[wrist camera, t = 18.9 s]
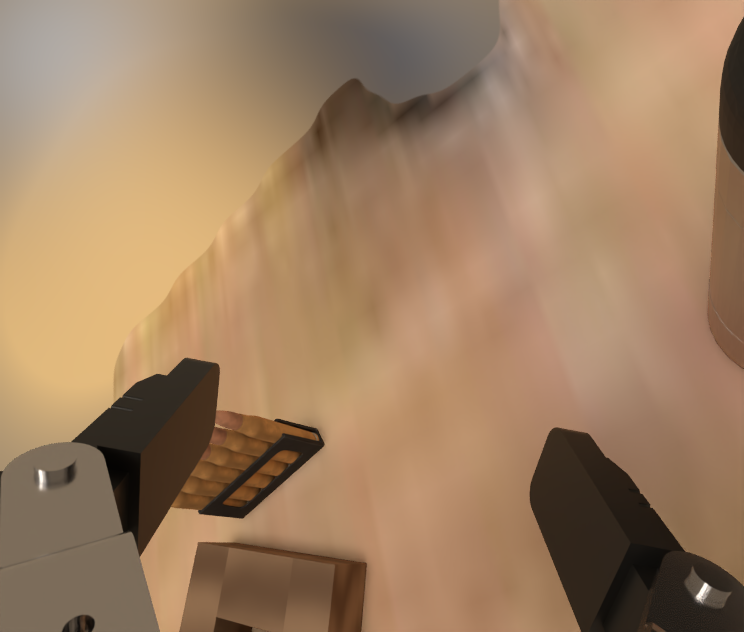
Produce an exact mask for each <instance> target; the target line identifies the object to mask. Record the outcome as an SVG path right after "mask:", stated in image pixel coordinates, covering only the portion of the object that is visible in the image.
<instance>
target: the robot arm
mask: <svg viewBox="0 0 744 632" xmlns="http://www.w3.org/2000/svg"><path fill="white" fill-rule="evenodd" d="M707 315H708V320H709V325H710V330H711V332H712V334H713V336H714V338H715V340H716V342H717V344H718V345H719V346H720V347H721V349H722V350H723V351H724V352H725V353H726V355H727V356H728V357H729V358H730V359H732V360H733V361H734V362H735V363H737V364H738V365H739V366H740V367H742V368H743V369H744V18H743V19H742V21H741V23H740V24H739V26H738V28H737V30H736V33H735V35H734V37H733V39H732V42H731V44H730V46H729V48H728V51H727V54H726V58H725V62H724V67H723V72H722V80H721V88H720V106H719V125H718V141H717V158H716V183H715V199H714V216H713V232H712V248H711V265H710V279H709V294H708V314H707ZM219 375H220V369H219V365H218V364H217V363H212V362H206V361H201V360H196V359H190V358H184V359H183V360H182V361H181V362H180V363H179V364H178V365H177V366H176V367H175V368H174V369H173V370H172V371H171V372H170V373H169V374H168V375H167V376H166V375H161V374H156V375H153V376H151V377H149V378H146V379H144V380H142V381H139V382H137V383H136V384H135V385H133V386H132V387H131V388H130V389H129V390H128V391H127V392H126V393H125V394H124V395H123V397H122V398H121V397H120V398H119V399H118V400H117V401H116V402H115V403H114V404H113V405H112V406H111V408H108V409H107V410H106V411H105V412H104V413H103V414H101V416H99V417H98V418H97V419H96V420H95V421H94V422H93V423H92V424H90V426H88V427H87V428H86V429H85V430H84V431H83V432H82V433H81V434H79V435H78V436H77V437H76V438H75V439H74V440H73V441H72V442H65V443H54V444H49V445H44V446H41V447H38V448H35V449H32V450H30V451H28V452H26V453H24V454H22V455H20V456H19V457H17V458H15V459H14V460H13V461H12V462H10V463H9V464H8V465H7V467H6V468H5V469H4V471H0V632H160V630H159V626H158V623H157V619H156V615H155V612H154V608H153V604H152V601H151V597H150V593H149V590H148V586H147V582H146V579H145V575H144V571H143V568H142V564H141V560H140V556H141V554H142V553H143V551H144V549H145V548H146V546H147V544H148V543H149V541H150V540H151V538H152V536H153V535H154V533H155V532H156V530H157V528H158V527H159V525H160V523H161V522H162V520H163V519H164V517H165V515H166V514H167V512H168V510H169V509H170V507H171V506H172V504H173V502H174V501H175V499H176V498H177V496H178V494H179V493H180V491H181V489H182V488H183V486H184V485H185V483H186V481H187V480H188V478H189V477H190V475H191V473H192V472H193V470H194V468H195V467H196V465H197V464H198V462H199V460H200V459H201V457H202V456H203V454H204V452H205V451H206V449H207V447H208V445H209V443H210V440H211V438H212V434H213V431H214V426H215V419H216V408H217V397H218V386H219ZM530 503H531V507H532V510H533V513H534V515H535V518H536V520H537V523H538V525H539V528H540V530H541V533H542V535H543V538H544V540H545V543H546V545H547V547H548V550H549V552H550V555H551V557H552V560H553V562H554V565H555V567H556V570H557V572H558V575H559V577H560V580H561V582H562V585H563V587H564V590H565V592H566V595H567V597H568V600H569V602H570V605H571V607H572V610H573V612H574V615H575V617H576V620H577V622H578V625H579V627H580V630H581V632H744V586H743V585H742V584H741V583H740V582H739V581H737V580H736V579H735V578H734V577H733V576H732V575H730V574H729V573H728V572H726V571H725V570H723V569H722V568H721V567H719V566H717V565H716V564H714V563H712V562H710V561H708V560H706V559H705V558H702V557H700V556H697V555H695V554H692V553H688V552H685V551H684V549H683V548H682V547H681V545H680V544H679V543H678V541H677V540H676V539H675V537H674V536H673V535H672V533H671V532H670V531H669V529H668V528H667V527H666V525H665V524H664V523H663V521H662V520H661V518H660V517H659V516H658V514H657V513H656V512H655V510H654V509H653V508H650V504H649V502H648V501H647V500H646V498H645V497H644V496H643V494H640V490H639V489H638V488H637V486H636V485H635V483H634V482H633V481H632V479H631V478H630V477H629V475H628V474H627V473H626V472H624V471H623V470H622V469H621V468H620V467H618V466H617V465H616V464H615V463H614V462H612V461H611V460H610V459H609V458H606V457H605V456H604V454H603V453H602V451H601V450H600V449H599V447H598V446H597V444H596V443H595V442H594V440H593V439H592V437H591V436H590V435H589V434H588V433H584V432H578V431H573V430H567V429H562V428H553V429H552V430H551V431H550V433H549V435H548V437H547V440H546V443H545V445H544V448H543V451H542V453H541V456H540V459H539V462H538V464H537V467H536V470H535V473H534V475H533V478H532V481H531V486H530Z"/></svg>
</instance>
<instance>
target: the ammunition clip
mask: <svg viewBox="0 0 744 632" xmlns="http://www.w3.org/2000/svg"><path fill="white" fill-rule="evenodd" d="M215 423H216V424H218V425H220V426H223V427H225V428H228V429H232V430H228V429H222V428H217V427H214V431H213V434H212V438H211V440H210V443H212V444H209V445H208V447H207V449H206V451H205V452H204V454H203V456H202V457H201V459H200V460H199V462H198V464H197V465H196V467H195V468H194V470H193V472H192V473H191V475H190V477H189V478H188V480H187V481H186V483H185V485H184V486H183V488H182V489H181V491H180V493H179V494H178V496H177V498H176V499H175V501H174V502H173V504H172V506H171V507H174V508H183V509H195V510H198V512H199V514H204V515H213V516H223V517H233V518H244V517H245V516H246V515H247V514H248V513H249V512H250V511H252V510H253V509H254V508H255V507H256V506H257V505H258V504H259V503H261V502H262V501H263V500H264V499H265V498H266V497H267V496H268V495H270V494H271V493H272V492H273V491H274V490H275V489H276V488H277V487H279V486H280V485H281V484H282V483H283V482H284V481H285V480H286V479H288V478H289V477H290V476H291V475H292V474H293V473H294V472H295V471H297V470H298V469H299V468H300V467H301V466H302V465H303V464H304V463H306V462H307V461H308V460H309V459H310V458H311V457H312V456H313V455H315V454H316V453H317V452H318V451H319V450H320V449H321V448H322V447H323V446H324V443H323V441H322V439H321V437H320V435H319V433H318V431H317V429H316V428H312V427H308V426H304V425H300V424H296V423H292V422H288V421H285V420H281V419H275V420H274V421H272V420H268V419H265V418H261V417H258V416H247V415H243V414H237V413H234V412H229V411H216V419H215Z"/></svg>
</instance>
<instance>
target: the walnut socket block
mask: <svg viewBox="0 0 744 632" xmlns="http://www.w3.org/2000/svg"><path fill="white" fill-rule="evenodd" d="M365 574H366V563H361V562H354V561H348V560H342V559H335V558H329V557H322V556H316V555H310V554H303V553H297V552H290V551H284V550H278V549H271V548H265V547H259V546H252V545H246V544H239V543H216V542H198V546H197V551H196V555H195V560H194V565H193V570H192V574H191V579H190V584H189V589H188V593H187V598H186V603H185V608H184V612H183V617H182V622H181V627H180V631H179V632H251V629H252V627H254V628H258V629H261V630H265V631H268V632H361V623H362V611H363V599H364V586H365Z"/></svg>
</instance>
